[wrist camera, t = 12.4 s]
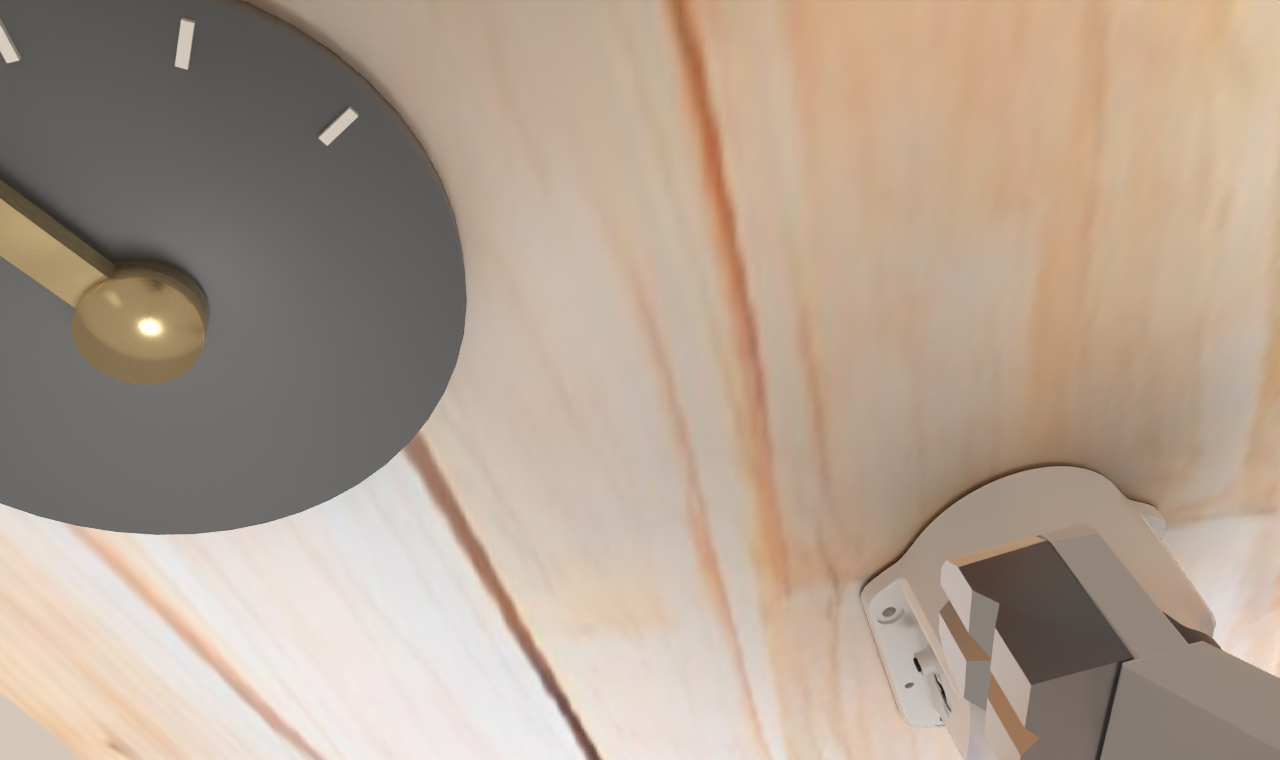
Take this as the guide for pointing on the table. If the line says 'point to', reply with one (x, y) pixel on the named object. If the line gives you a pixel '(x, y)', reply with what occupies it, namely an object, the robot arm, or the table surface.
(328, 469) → the dial plate
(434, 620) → the table surface
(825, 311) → the table surface
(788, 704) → the table surface
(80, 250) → the brass lever
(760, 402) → the table surface
